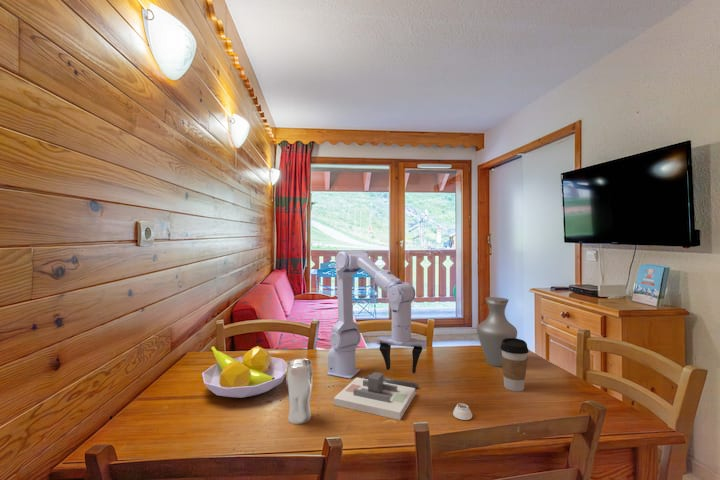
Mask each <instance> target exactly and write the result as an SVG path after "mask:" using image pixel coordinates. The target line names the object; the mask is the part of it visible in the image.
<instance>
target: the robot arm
mask: <svg viewBox="0 0 720 480" xmlns="http://www.w3.org/2000/svg"><path fill="white" fill-rule="evenodd" d="M369 257H370V256H369V253H366V252H365V251H364V250H352V251H351V250H350V251H349V250H348V251H345V250H344V251H343V250H340V251H339V252H338V253H337V255H336V256H335V257H334V258H335V260H334V261H335V262H334V263H335V274H336V288H337V289H336V291H337V292H336V293H337V321H336V323H335V324H334V325H332V327H331V334H330V338H329V340H330V341H329V342H330V345H331V347H330V348H329V350H328V354H327V372H326V374H327V375H328V376H332V377H333V376H334V377H339V378H345V379H352V378H354V376H356V375H357V374H359V372H360V370H361V369H359V368H357V367H356V360H357V359H356V357H357V355H356V351H357V349H358V345H359V344H360V343H361V339H362V338H361V333H360V329H359V325H358V323H356V322H355V321H354V312H353V311H354V310H353V304H354V303H353V281H352V279H353V276H354V275H355V274H356V273H358V272H359V271H361V270H362V271H363V272H365V273H367V274H368V275H369V276H370V277H372V278H373V279H374V283H375V285H376V286H377V287H378V288H379V289H381V291H382V292H384V293H385V294H386V296H387V300H388V301H389V302H388V303H389V308H390V310H391V336H390V335H389V336H382V335H381V336H377V337H376V345H379V347H378V348H379V351H380V353H381V355H382V357H383V361H384V363H385V370H387V371H390V369H391V349H392V347H391V346H398V347H407V348H413V349H412V350H411V353H412V355H411V356H412V367H411V373H412V374H416V372H417V365H418V361H419V358H420V356H421V353H422V351H423V350H426V349H427V343H428V342H427V340H425V339H418V338H413V337H412V302H413V301H414V300H415V297H416V290H415V287H414V286H413V284H412V283H411V282H407V281H406V282H404V281H402V279H400V278H399V277H397V276H396V275H394V274H393V273H392V271H391V270H390V269H381V268H380V267H379V266H378V265H377V264H376V263H375V262H374V261H373V260H371V259H370V258H369Z"/></svg>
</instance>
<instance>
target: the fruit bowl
mask: <svg viewBox="0 0 720 480" xmlns="http://www.w3.org/2000/svg"><path fill="white" fill-rule="evenodd" d="M210 349H211V350H212V352H213V356H214V357H215V360H216V363H215V364H213V365H211V366H210V367H209V368H208V369H206V370H205V371H203V372H202V373H201V375H202V379H203V383H204V385H205V386H206V388H207V389H208V390H209V391H210V392H212V393H213V394H215V396H220V397H224V398H225V397H226V398H238V399H239V398H241V399H242V398H247V397H253V396H254V397H255V396H260V395H262V394H264V393H267V392H269V391H270V390H272V389H274V388H275V387H277V386H279V385H281V384H282V382H283V381H284V379H285V378H286V375H287V363H288V362H286V361H285V360H284V359H283V358H279V357H273V356H271V355H270V352H269V350H267V349H265V348H263V347H261V346H259V345H257V346H254V347H252V348H251V349H250V350H248V351H247V352H245V353H244V354H243V356H238V357H236V358H235V357H232V356H229V355H228V354H226V353H224V352H222V351H220V350H217V349H216V347H215V346H214V345H213V346H211V347H210Z"/></svg>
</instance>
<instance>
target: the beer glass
mask: <svg viewBox="0 0 720 480" xmlns="http://www.w3.org/2000/svg"><path fill="white" fill-rule="evenodd" d="M286 363H287V373H286V375H285V379H286V381H285V382H286V383H285V384H286V391H287V396H288V401H289V410H288V411H289V412H288V417H287V420H288V422H290V423H291V424H294V425H302V424H305V423H307V422H309V421H310V420H311V418H312V415H311V414H312V413H311V407H310V404H311V403H310V402H311V396H312V395H311V394H312V390H313V389H312V388H313V380H314V377H313V376H314V375H313V374H314V373H313V362H312V360H311V359H308V358H303V357H302V358H294V359H291V360H289V361H288V362H286Z"/></svg>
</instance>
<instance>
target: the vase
mask: <svg viewBox="0 0 720 480" xmlns="http://www.w3.org/2000/svg"><path fill="white" fill-rule="evenodd" d="M484 300H485V301H486V304H487V307H488V315H487V317H486V319H484V320H483V321H481V322H480V323H479V324H478V325H477V326H476V332H477V333H476V334H477V336H478V339H479V342H480V347H481V350H482V352H483V355H484V357H485V359H486V363H487V364H488V365H489V366H493V367H499V368H503V367H502V356H501V355H502V350H501V349H500V347H501V345H502V340H503V339H505V338H516V339H518V338H517V337H518V329H517V328H516V327H515V326H514V325H513V323H511V322H510V321H508V319H507V317H506V314H505V313H506V308H507V305H508V302H509V299H508V298H504V297H499V296H498V297H496V296H495V297H491V296H490V297H489V296H488V297H485V299H484Z"/></svg>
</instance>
